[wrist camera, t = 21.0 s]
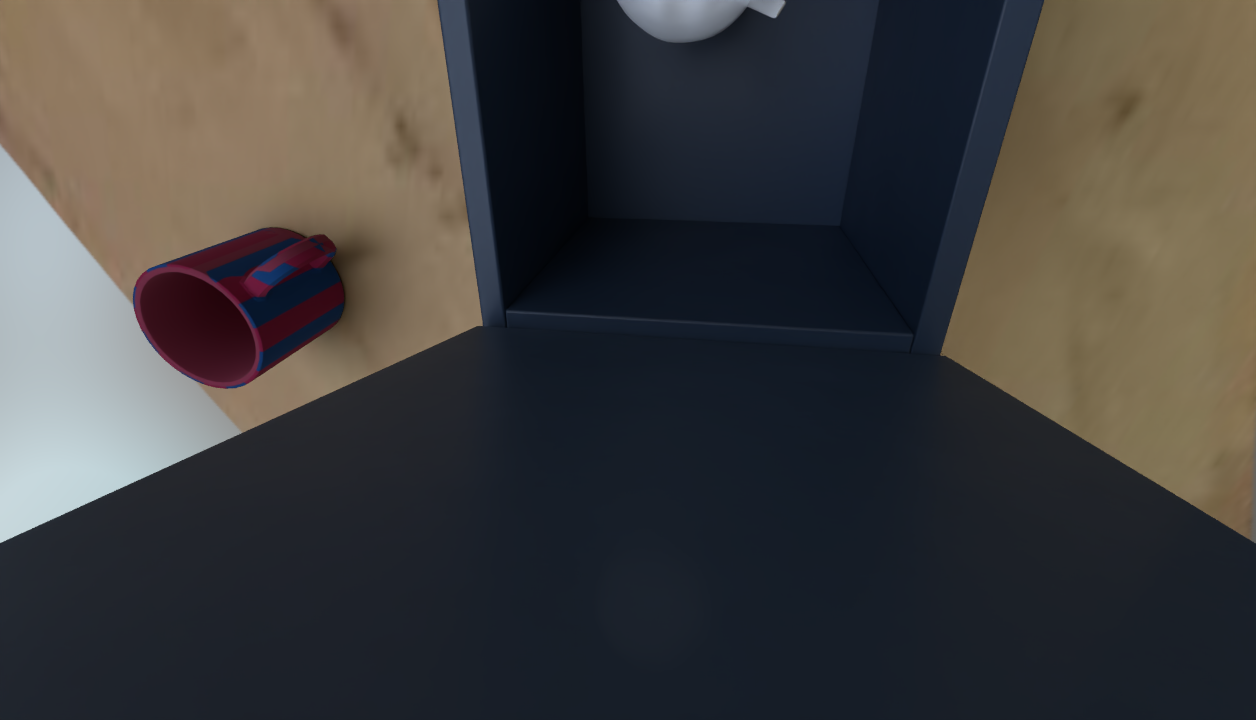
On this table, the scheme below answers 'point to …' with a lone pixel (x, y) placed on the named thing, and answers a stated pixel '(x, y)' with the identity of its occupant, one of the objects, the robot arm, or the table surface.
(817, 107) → the chest
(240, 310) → the cup
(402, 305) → the table surface
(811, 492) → the chest lid
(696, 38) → the milkshake
